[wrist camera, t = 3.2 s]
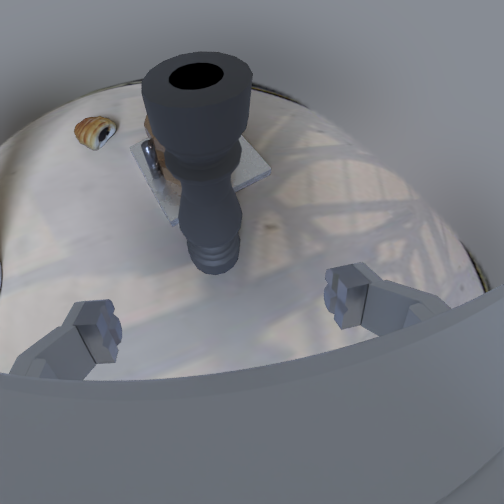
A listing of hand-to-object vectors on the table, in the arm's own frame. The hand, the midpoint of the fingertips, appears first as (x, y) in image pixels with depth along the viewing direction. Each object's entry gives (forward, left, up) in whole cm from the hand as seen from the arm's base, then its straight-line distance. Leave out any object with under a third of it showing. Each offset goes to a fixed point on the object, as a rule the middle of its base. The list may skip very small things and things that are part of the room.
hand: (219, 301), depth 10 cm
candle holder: (+4, +10, -23) cm, 25 cm away
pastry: (-3, +41, -23) cm, 47 cm away
